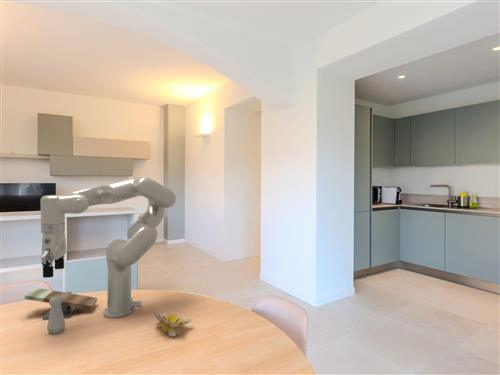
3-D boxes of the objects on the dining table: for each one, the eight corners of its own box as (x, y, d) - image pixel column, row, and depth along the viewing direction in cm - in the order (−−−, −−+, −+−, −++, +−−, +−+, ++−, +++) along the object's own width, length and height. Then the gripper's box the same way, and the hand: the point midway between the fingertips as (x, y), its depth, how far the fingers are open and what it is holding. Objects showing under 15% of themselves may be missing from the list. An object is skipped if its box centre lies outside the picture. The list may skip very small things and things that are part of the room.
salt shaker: (68, 328, 115) (68, 295, 114) (57, 335, 109) (57, 301, 109) (54, 327, 115) (54, 294, 115) (43, 334, 110) (43, 300, 109)
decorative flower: (198, 327, 114) (192, 303, 112) (173, 345, 106) (167, 320, 105) (177, 316, 124) (171, 295, 123) (153, 332, 116) (146, 309, 115)
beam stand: (80, 303, 137) (80, 290, 137) (69, 318, 123) (69, 303, 123) (56, 305, 135) (56, 292, 134) (42, 320, 121) (42, 305, 121)
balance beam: (96, 301, 136) (97, 298, 136) (91, 309, 127) (92, 306, 127) (34, 290, 130) (35, 287, 130) (24, 298, 121) (25, 295, 121)
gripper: (54, 232, 104) (55, 280, 104) (72, 224, 121) (73, 265, 121) (30, 232, 102) (31, 281, 103) (52, 224, 119) (53, 266, 120)
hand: (54, 272), depth 112 cm, fingers open, 9 cm apart
